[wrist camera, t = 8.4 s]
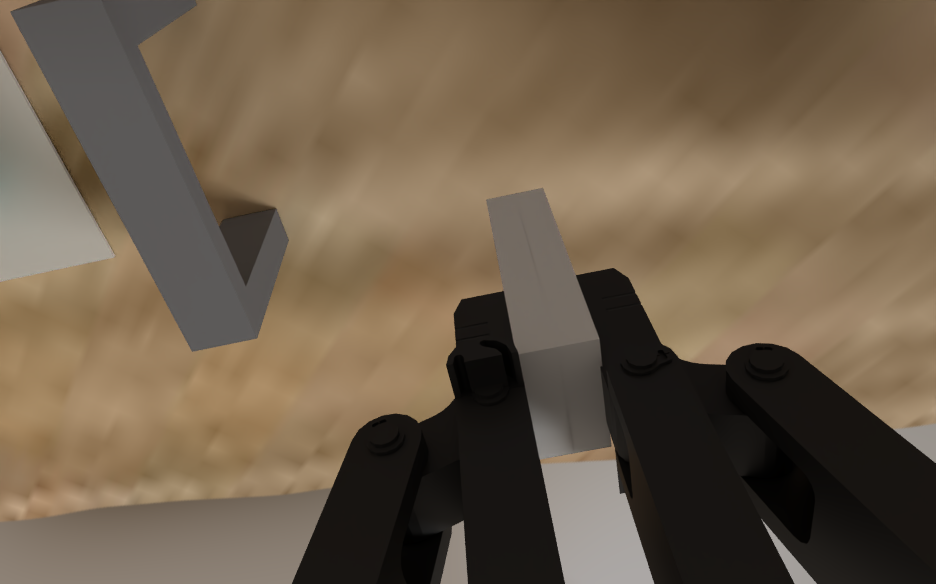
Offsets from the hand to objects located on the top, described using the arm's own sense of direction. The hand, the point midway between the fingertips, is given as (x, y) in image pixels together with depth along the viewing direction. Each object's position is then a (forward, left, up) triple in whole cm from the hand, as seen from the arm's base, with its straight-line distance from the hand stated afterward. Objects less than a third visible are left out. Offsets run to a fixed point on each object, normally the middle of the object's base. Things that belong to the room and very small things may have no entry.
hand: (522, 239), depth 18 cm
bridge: (+13, 0, -18) cm, 22 cm away
